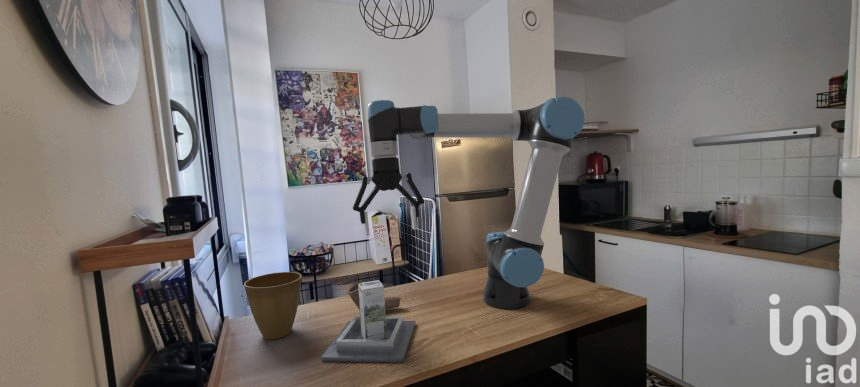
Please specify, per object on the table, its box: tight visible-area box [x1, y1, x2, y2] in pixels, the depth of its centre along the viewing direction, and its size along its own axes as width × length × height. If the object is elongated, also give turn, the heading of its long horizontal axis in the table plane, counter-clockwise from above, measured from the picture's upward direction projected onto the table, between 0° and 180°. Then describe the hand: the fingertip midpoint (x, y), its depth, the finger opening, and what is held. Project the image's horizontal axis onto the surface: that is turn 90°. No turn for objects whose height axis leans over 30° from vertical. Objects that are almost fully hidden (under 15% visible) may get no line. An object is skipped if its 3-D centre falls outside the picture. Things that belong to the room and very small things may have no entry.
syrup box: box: [358, 279, 387, 339], centre depth 93 cm, size 6×6×14 cm
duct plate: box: [320, 316, 416, 363], centre depth 93 cm, size 20×20×4 cm
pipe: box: [347, 281, 402, 311], centre depth 112 cm, size 6×17×10 cm, turn 102°
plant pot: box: [243, 271, 302, 340], centre depth 100 cm, size 15×15×16 cm
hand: (391, 232), depth 100 cm, fingers open, 13 cm apart
